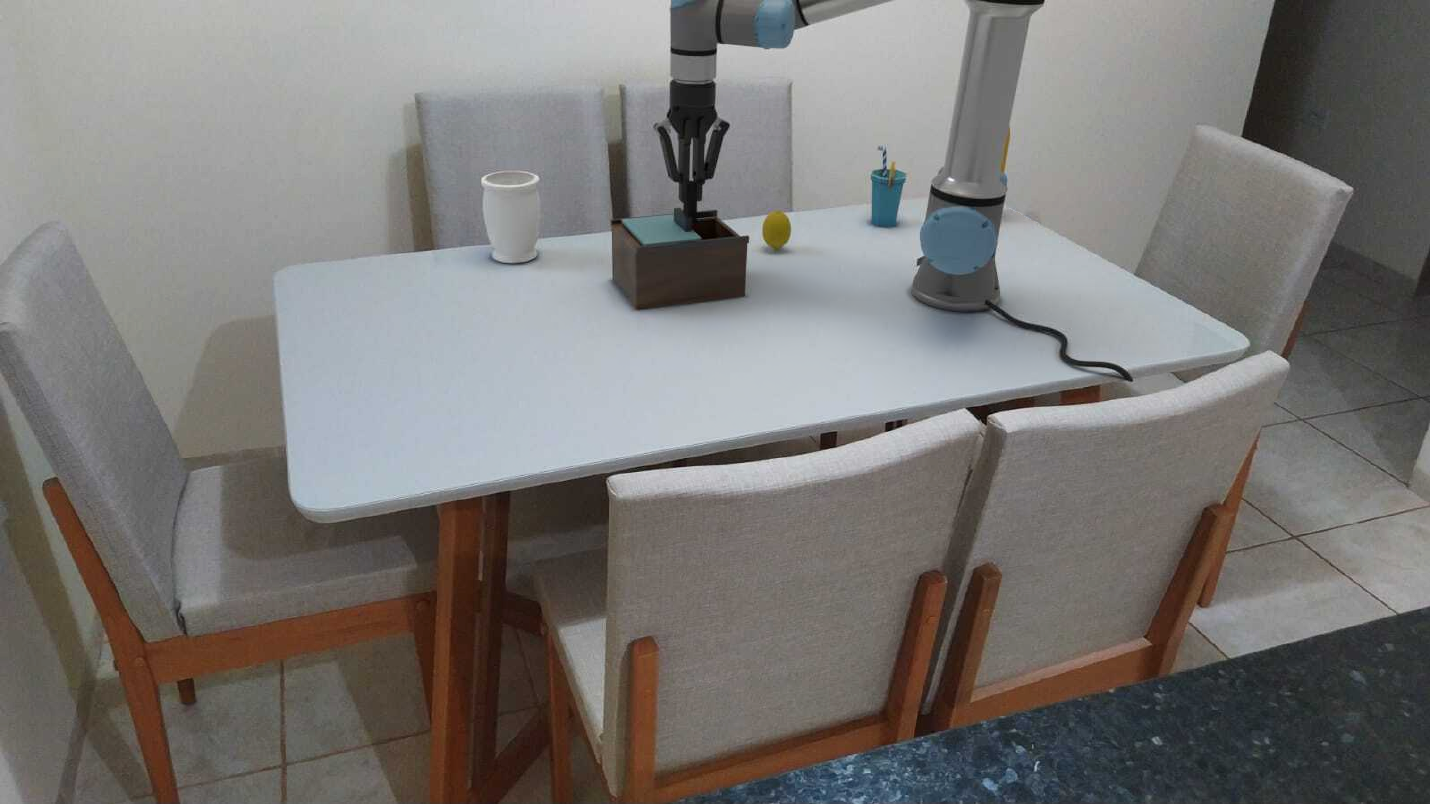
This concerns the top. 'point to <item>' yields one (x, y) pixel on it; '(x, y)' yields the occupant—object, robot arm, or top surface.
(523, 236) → the jar
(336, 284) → the top surface
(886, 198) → the cup
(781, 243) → the lemon
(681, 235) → the teal box lid
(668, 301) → the chest
